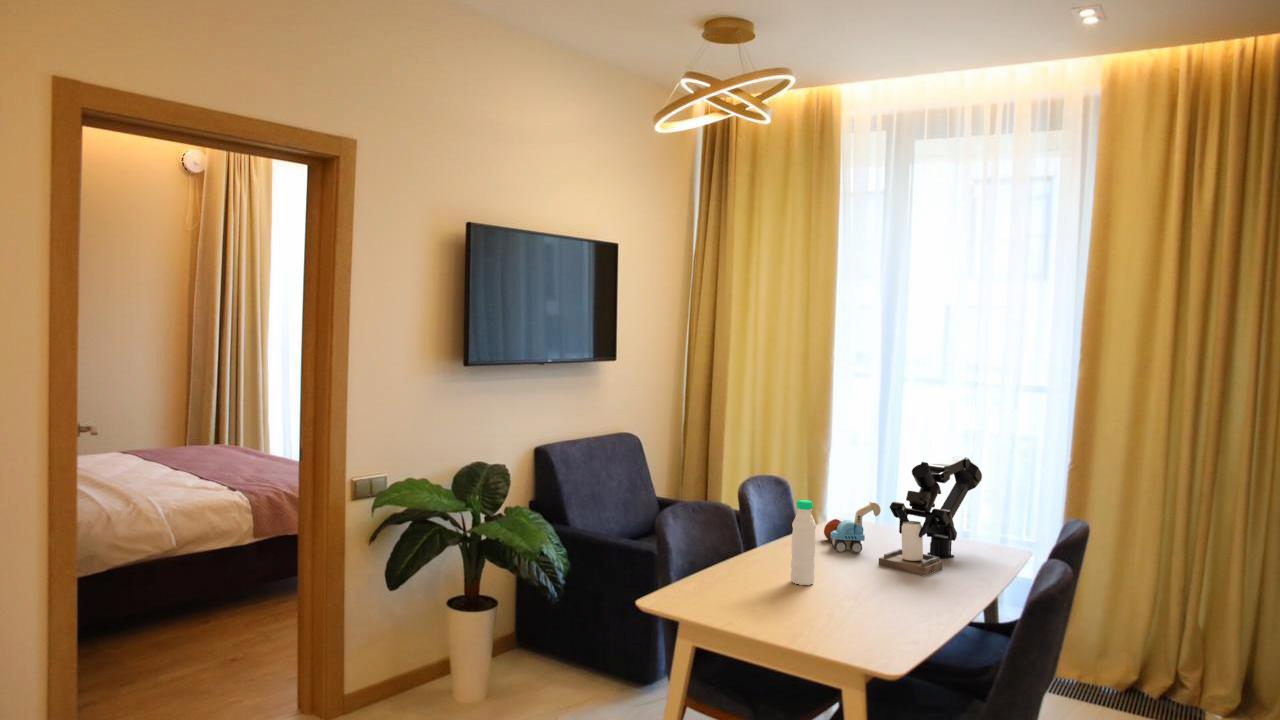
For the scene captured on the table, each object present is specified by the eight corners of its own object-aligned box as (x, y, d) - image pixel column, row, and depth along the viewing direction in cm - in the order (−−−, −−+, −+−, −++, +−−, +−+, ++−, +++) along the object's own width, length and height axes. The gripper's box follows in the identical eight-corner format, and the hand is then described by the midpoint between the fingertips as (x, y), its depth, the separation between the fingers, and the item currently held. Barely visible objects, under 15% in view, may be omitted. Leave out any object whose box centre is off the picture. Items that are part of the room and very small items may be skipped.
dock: (896, 559, 305) (896, 548, 305) (941, 569, 294) (942, 557, 294) (878, 565, 297) (878, 554, 297) (924, 576, 286) (924, 564, 286)
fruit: (843, 545, 323) (844, 523, 322) (820, 541, 328) (820, 519, 327) (852, 540, 330) (853, 519, 330) (829, 537, 335) (830, 515, 335)
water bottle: (818, 583, 275) (821, 501, 274) (805, 587, 270) (808, 504, 269) (798, 578, 280) (801, 497, 279) (785, 582, 275) (788, 500, 274)
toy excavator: (881, 554, 312) (883, 504, 311) (832, 553, 312) (834, 503, 311) (875, 548, 320) (877, 499, 320) (828, 546, 321) (829, 498, 320)
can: (919, 562, 291) (918, 524, 291) (899, 560, 294) (898, 523, 294) (925, 558, 296) (924, 521, 296) (905, 556, 300) (905, 520, 300)
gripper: (893, 477, 304) (875, 515, 296) (946, 485, 291) (929, 525, 284) (903, 497, 310) (886, 535, 303) (956, 506, 297) (940, 545, 290)
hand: (909, 534), depth 294 cm, fingers open, 6 cm apart
